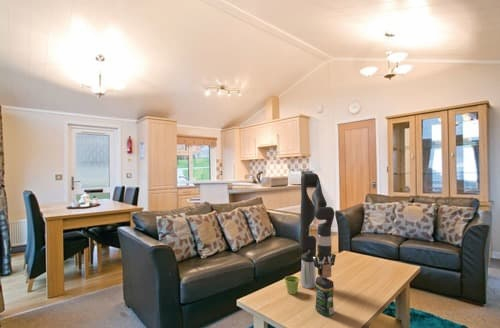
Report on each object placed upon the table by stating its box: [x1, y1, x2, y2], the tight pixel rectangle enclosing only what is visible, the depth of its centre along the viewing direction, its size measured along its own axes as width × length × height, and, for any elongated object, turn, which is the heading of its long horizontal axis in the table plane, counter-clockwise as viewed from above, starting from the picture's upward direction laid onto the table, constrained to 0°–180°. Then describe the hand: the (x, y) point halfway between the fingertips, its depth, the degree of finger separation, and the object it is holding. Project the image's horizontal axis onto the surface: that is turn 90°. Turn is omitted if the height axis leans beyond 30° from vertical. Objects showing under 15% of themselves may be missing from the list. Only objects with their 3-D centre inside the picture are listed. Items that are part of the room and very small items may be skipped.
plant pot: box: [284, 275, 301, 295], centre depth 171 cm, size 9×9×9 cm
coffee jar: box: [315, 275, 335, 317], centre depth 149 cm, size 10×8×19 cm
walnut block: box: [317, 262, 332, 279], centre depth 149 cm, size 5×5×7 cm
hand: (324, 273), depth 149 cm, fingers closed on walnut block, 5 cm apart
